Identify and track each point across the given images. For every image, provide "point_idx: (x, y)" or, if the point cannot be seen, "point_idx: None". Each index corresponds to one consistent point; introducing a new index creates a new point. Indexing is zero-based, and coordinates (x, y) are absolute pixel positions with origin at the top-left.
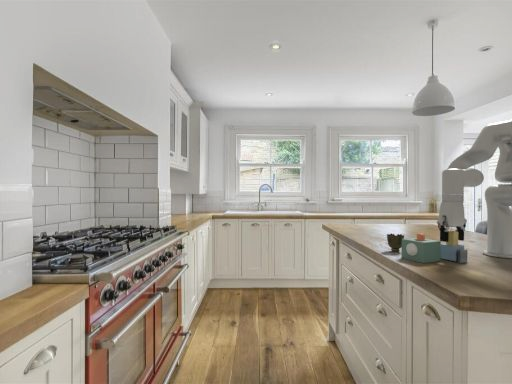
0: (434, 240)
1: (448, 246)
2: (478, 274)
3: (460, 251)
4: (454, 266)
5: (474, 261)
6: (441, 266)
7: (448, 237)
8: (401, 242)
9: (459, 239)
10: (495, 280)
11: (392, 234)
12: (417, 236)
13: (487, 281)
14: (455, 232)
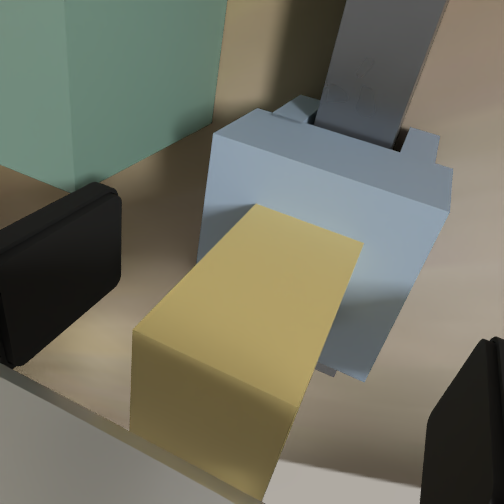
0: (48, 111)
1: (205, 238)
2: (85, 350)
3: None
4: (132, 247)
5: (458, 339)
6: None
7: (72, 316)
8: None
9: (451, 392)
10: (62, 392)
11: None
12: None
13: (25, 370)
14: (188, 449)
